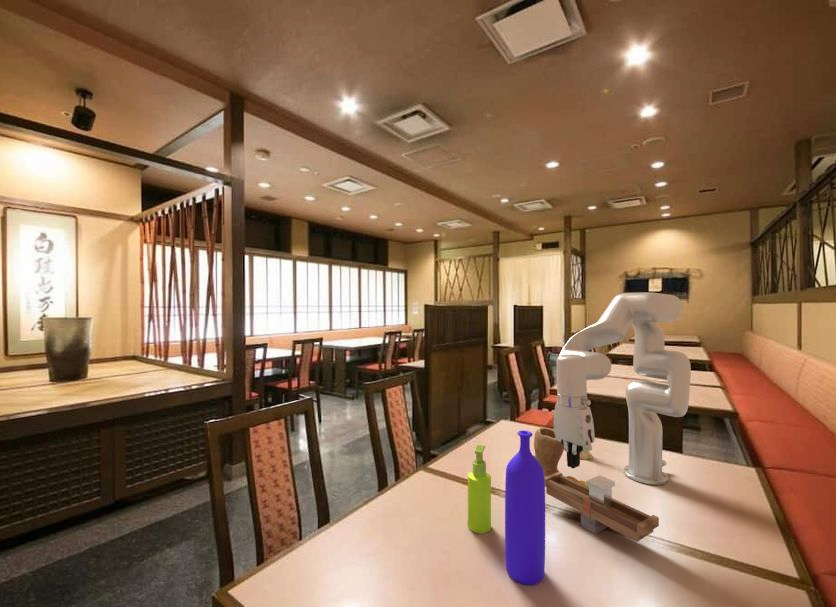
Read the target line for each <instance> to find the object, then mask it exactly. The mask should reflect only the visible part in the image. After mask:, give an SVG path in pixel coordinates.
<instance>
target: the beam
mask: <svg viewBox="0 0 836 607" xmlns="http://www.w3.org/2000/svg"><path fill="white" fill-rule="evenodd" d="M544 478H545V495H546V494H547V495H548V496H550V497H552V498H554V499H556V500H557V501H560V502H562V503H564V504H566V505H567V506H569V507H571V508H573V509H575V510H577V511H578V512H580V527H581V528H584V529H585V530H587V531H588V532H590V533H593V534H594V535H597V534H599V533H601V532H602V531H604V530H606V529H607V527H608V528H610V529H612V530H614V531H616V532H618V533H619V534H622V535H623V536H625V537H627V538H629V539H631V540H633V541H635V542H636V543H637V542H639V541H641V540H643V539H645V537H648V536H649V535H651V534H652V533H654V530H655V529H657V528H658V527H659V526H660V517H659V516H657V515H654V514H652V515H649V514H647V513H645V512H643V511H641V510H638V509H636V508H635V507H632V506H630V505H628V504H626V503H623V502H621V501H620V500H617V499H614V498H613V497H612V507H611V508H607V507H605V506H603V505H601V504H599V503H597V502H595V501H593V500H591V499H589V487H587V486H585V485H582V484H580V483H578V482H576V481H574V480H572V479H569V478H567V476H566V475H563V472H561V471H559V472H557V473H554V474H551V475H549V476H546V477H544Z"/></svg>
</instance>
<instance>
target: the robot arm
mask: <svg viewBox="0 0 836 607" xmlns="http://www.w3.org/2000/svg"><path fill="white" fill-rule="evenodd" d="M683 311H684V307H683V303H682V301H681V299H680V297H677V295H672V294H667V293H666V294H665V293H658V292H649V291H648V292H623V293H619V294H617V295H616V296H615V295H614V297H613V298H612V300H611V301H610V303H609V304H608V305H607V306H606V309H605V310H604V312H603V313H602V314H601V315H600V317H599V319H598V320H597V321H596V322H595V323H593V324H591V325H589V326H588V327H585V328H584V329H582V330H580V331H577V333H574V335H572V336H571V337H570V338H569V339H568V340H567V341H566V343H565V344H564V346H563V348H562V349H561V350H560V352H559V355H558V356H557V358H556V392H557V393H556V394H557V395H556V398H557V402H555V406H554V412H553V430H554V434H555V438H556V439H557V440H558V441H560V442H561V443H562V444H563V446H564V451H565V452H566V464H567V467H569V468H570V469H573V470H574V469H575V468H578V467H579V466H580V464H581V459H580V453H581V452H582V451H589V452H590V451H592V450H593V446H592V444H593V443H594V442H595V441H596V440H595V439H596V438H595V427H594V426H595V425H594V424H595V423H594V418H593V414H592V411H591V410H592V409H591V407H590V405H591V400H590V399H588V394H587V392H588V390H587V381H597V380H603V379H604V378H606V377H608V375H610V373H611V371H612V363H611V359H610V358H609V357H608V356H607V355H605V354H603V353H601V352H598V351H597V352H595V351H591V350H592V349H595V348H599V347H604V346H609V345H612V344H615V343H620V342H621V341H623V339H624V338H625V337H626V335H627V334H628V332H629V330H630V329H631V327H632V329H633V331H634V349H633V361H632V362H633V364H632V366H633V370H634V373H635V374H637V375H639V376H642V377H645V378H652V379H658V380H664V381H668V384H666V383H660V382H656V381H655V382H654V381H650V380H649V381H647V380H641V379H637V380H632V381H630V382H629V383H628V384H627V386H626V388H625V399H626V404H627V409H628V464H627V465H625V466H623V473H624V475H625V476H626V477H628V478H629V479H631V480H633V481H635V482H638V483H643V484H647V485H654V486H658V485H659V486H660V485H665V484H667V483H668V482H669V478H668V475H667V474H666V473H665V472H663V467H665V466H667V461H665V460H664V459H663V425H662V421H661V419H660V416H658V414H660V415H664V416H669V417H674V418H680V417H684V416H685V415H686V414H687V412H688V408H689V403H690V390H691V378H692V377H691V374H692V373H691V372H692V370H691V369H692V368H691V366H692V365H691V361H690V359H689V357H688V355H686V354H685V353H683V352H681V351H676V350H668V349H665V339H666V338H665V337H666V336H665V332H664V330H663V329H662V327H661V326H660V324H659V323H675V322H677V321H679V319H680V318H681V317H682V315H683Z"/></svg>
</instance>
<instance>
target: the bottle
mask: <svg viewBox="0 0 836 607" xmlns="http://www.w3.org/2000/svg"><path fill="white" fill-rule="evenodd" d="M517 436H519V443H520V447H519V450H518V452H517V453H516V454H515V455H514V456H513V457H512V458H511V459H510V460H509V462H507V465H506V469H505V483H504V486H505V489H504V490H505V491H504V496H505V497H504V546H505V547H504V556H505V558H504V560H505V567H506V572H507V574H508V576H509V577H510V578H511V579H512V580H513V581H514V582H516V583H519V584H522V585H524V586H535V585H537V584H540V582H542V580H543V579H544V577H545V568H546V567H545V564H546V486H545V478H544V471H543V468H542V466H541V465H540V463H539V462H538V461H537V459H536V458H535V457H534V456H535V455H534V454H533V453H532V451H531V446H530V445H531V444H530V443H531V442H530V441H531V440H530V439H531V437H533V433H532V431H529V430H519V431H517Z"/></svg>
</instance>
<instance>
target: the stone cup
mask: <svg viewBox="0 0 836 607" xmlns="http://www.w3.org/2000/svg"><path fill="white" fill-rule="evenodd" d="M533 449H534V455H533V456H534V457H535V458H536V459H537V461H538V462H539V463H540V465H541V466H542V468H543V471H544V477H546V476H549V475H551V474H554V473H557V472H560V471H559V469H558V465H559V462H560V460H561V458H562V456H563V453H564V451H565V449H564V446H563V444H562V443H561V442H560V441H558V440H557V439H556V438H555V434H554V429H551V428H548V427H547V428H546V427H539V428H538V429H537V430H535V432H534V438H533Z"/></svg>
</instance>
